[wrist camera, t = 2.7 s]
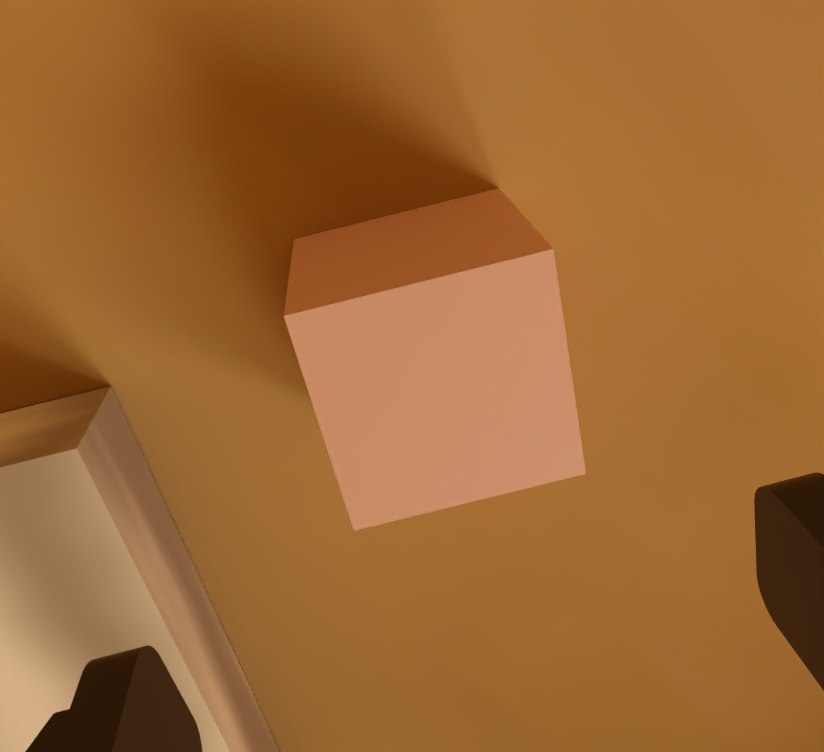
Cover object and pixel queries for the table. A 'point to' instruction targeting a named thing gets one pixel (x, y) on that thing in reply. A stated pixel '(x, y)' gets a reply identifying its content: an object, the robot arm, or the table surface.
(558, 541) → the table surface
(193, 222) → the table surface
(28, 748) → the robot arm
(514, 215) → the terracotta cube
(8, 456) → the maple base
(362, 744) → the table surface
